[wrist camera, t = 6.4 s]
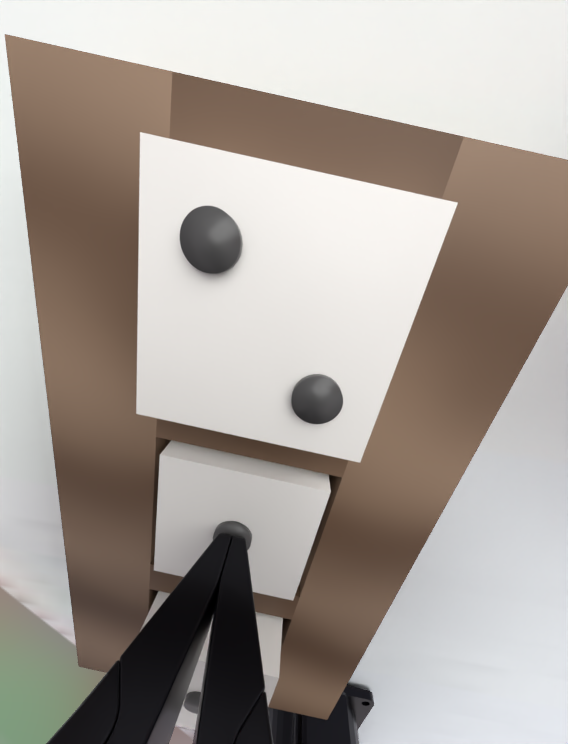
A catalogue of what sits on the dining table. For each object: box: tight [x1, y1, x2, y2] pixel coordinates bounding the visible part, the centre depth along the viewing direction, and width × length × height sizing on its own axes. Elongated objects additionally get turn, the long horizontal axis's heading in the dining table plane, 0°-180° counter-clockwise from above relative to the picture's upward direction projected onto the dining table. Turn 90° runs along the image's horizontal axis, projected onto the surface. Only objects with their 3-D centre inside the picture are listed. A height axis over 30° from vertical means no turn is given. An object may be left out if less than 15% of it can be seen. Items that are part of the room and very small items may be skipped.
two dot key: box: [136, 132, 458, 463], centre depth 6 cm, size 5×5×2 cm
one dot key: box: [154, 440, 331, 600], centre depth 9 cm, size 5×5×2 cm
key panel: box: [5, 34, 568, 720], centre depth 10 cm, size 22×12×3 cm, turn 168°
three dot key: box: [140, 591, 283, 730], centre depth 10 cm, size 5×5×2 cm
